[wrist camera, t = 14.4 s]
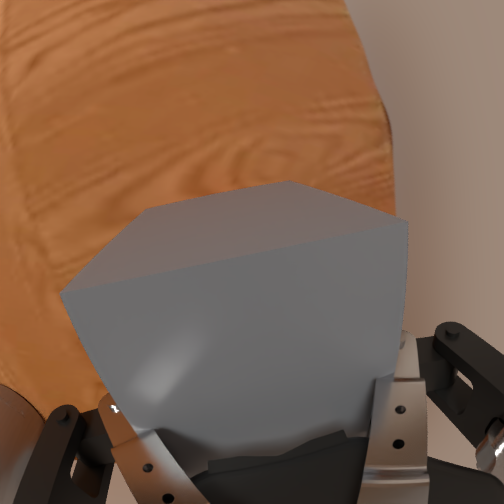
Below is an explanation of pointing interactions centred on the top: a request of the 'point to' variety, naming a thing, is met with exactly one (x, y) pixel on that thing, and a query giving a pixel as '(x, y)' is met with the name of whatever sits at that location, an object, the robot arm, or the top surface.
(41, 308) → the top surface
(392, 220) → the gray tapered block
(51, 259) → the top surface
